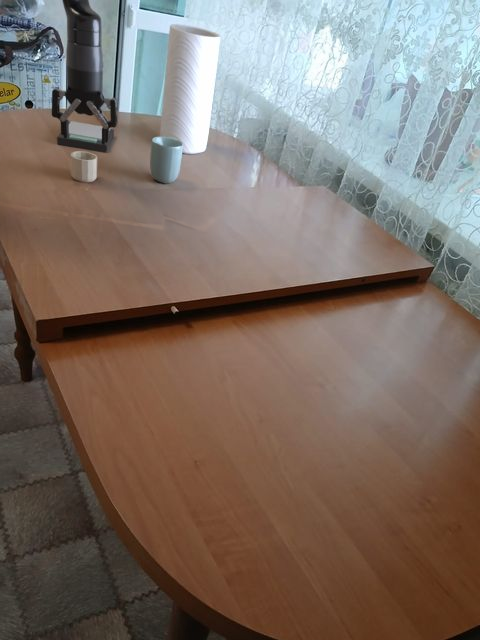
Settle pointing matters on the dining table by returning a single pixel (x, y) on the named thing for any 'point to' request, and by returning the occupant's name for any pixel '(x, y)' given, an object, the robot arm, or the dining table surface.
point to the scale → (85, 137)
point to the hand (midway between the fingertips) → (85, 140)
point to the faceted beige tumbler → (83, 166)
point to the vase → (189, 86)
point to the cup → (165, 158)
